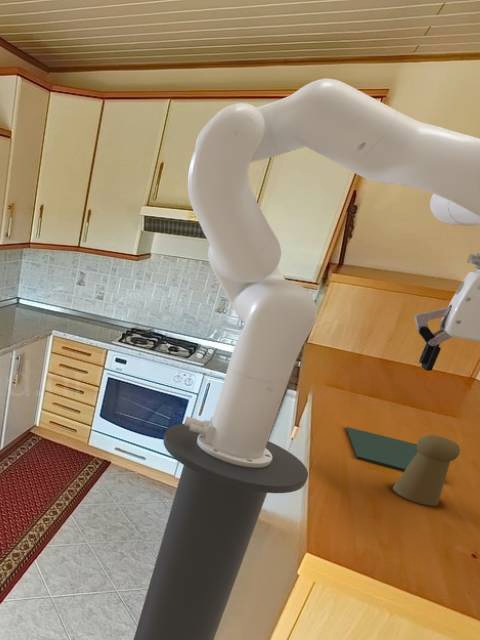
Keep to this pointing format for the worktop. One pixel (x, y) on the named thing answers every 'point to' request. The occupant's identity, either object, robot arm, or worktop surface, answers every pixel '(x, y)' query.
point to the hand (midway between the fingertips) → (464, 375)
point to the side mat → (382, 449)
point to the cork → (427, 470)
